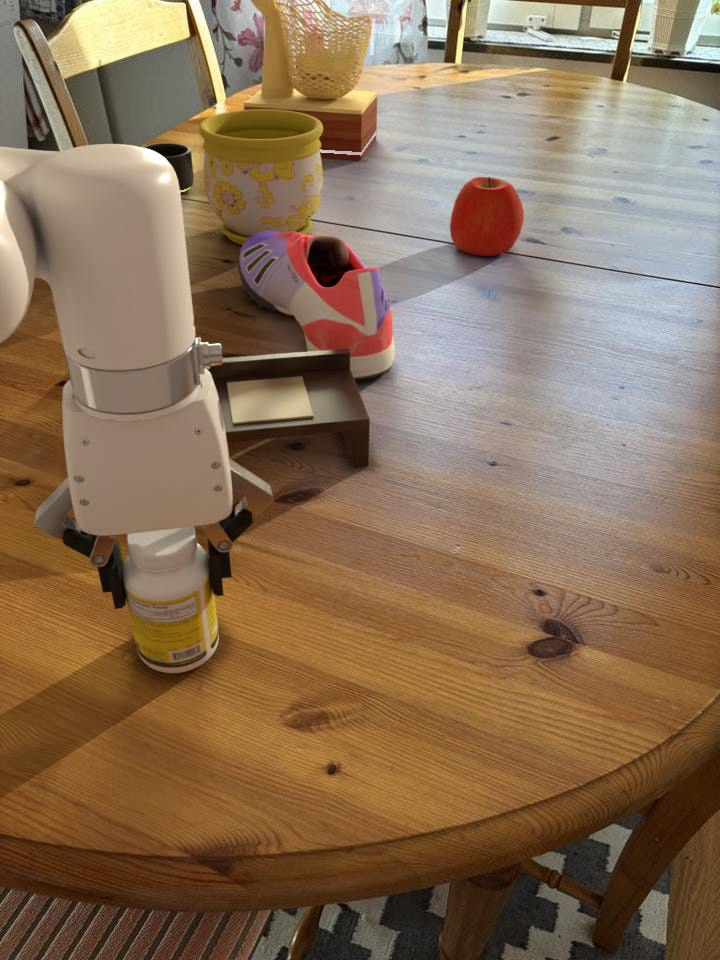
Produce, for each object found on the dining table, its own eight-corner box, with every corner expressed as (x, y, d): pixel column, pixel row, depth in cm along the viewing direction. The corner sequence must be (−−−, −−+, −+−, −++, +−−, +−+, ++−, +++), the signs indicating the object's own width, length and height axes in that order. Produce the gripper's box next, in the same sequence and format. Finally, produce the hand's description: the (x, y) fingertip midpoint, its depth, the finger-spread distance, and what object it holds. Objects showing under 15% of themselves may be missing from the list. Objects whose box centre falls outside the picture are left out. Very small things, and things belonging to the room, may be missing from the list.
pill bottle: (174, 605, 69) (157, 495, 62) (236, 635, 66) (225, 524, 60) (119, 655, 64) (94, 542, 58) (183, 689, 62) (165, 576, 55)
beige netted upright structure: (237, 151, 171) (224, -56, 150) (263, 128, 185) (254, -64, 164) (360, 161, 167) (364, -50, 146) (377, 137, 181) (383, -59, 160)
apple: (527, 242, 134) (536, 172, 128) (506, 266, 126) (515, 193, 120) (461, 230, 137) (467, 162, 131) (437, 253, 129) (442, 182, 123)
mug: (149, 183, 154) (144, 142, 150) (199, 184, 154) (195, 143, 149) (131, 205, 144) (125, 162, 140) (185, 207, 144) (180, 164, 140)
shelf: (182, 485, 82) (174, 420, 77) (179, 423, 90) (171, 361, 86) (368, 466, 85) (370, 402, 80) (348, 408, 93) (348, 348, 89)
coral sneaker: (307, 263, 126) (306, 170, 118) (420, 377, 99) (427, 267, 91) (225, 275, 122) (218, 180, 114) (320, 398, 95) (318, 284, 87)
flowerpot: (187, 245, 130) (176, 132, 121) (238, 208, 144) (231, 104, 134) (298, 262, 126) (295, 146, 116) (339, 222, 140) (340, 115, 130)
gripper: (272, 329, 56) (282, 541, 66) (-9, 350, 53) (49, 568, 63) (287, 387, 50) (296, 610, 60) (-29, 414, 47) (39, 643, 57)
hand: (169, 587), depth 62 cm, fingers closed on pill bottle, 6 cm apart
